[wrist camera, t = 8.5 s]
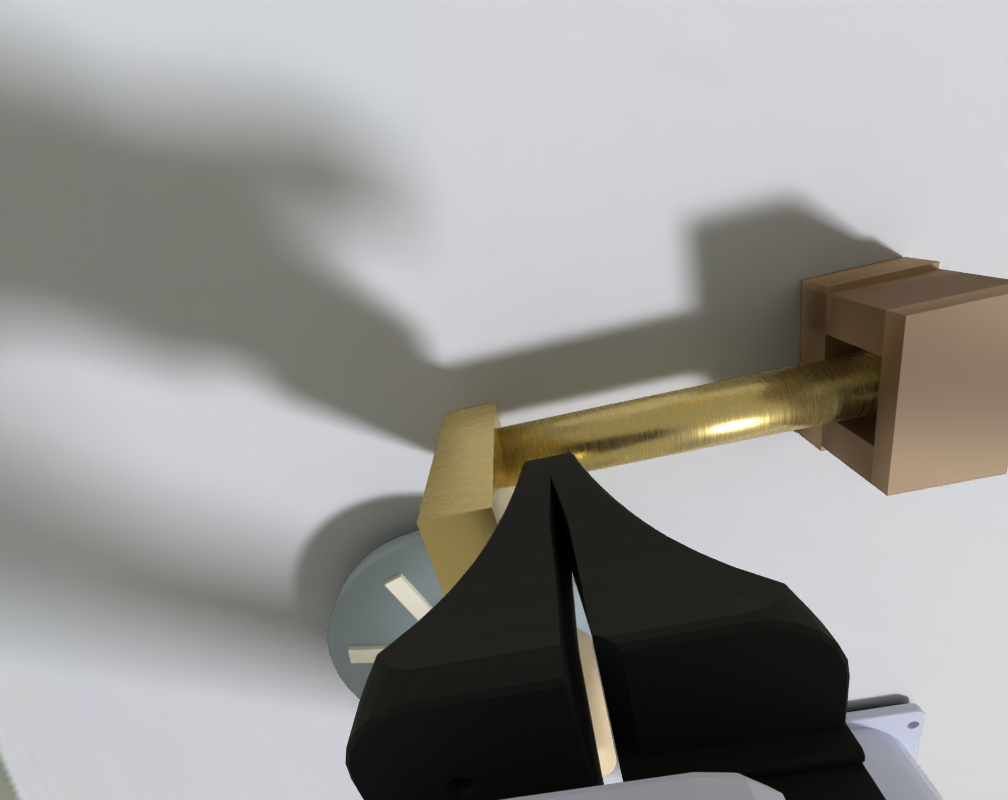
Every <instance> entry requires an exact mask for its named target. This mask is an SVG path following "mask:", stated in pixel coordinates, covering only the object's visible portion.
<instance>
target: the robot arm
mask: <svg viewBox="0 0 1008 800" xmlns="http://www.w3.org/2000/svg"><path fill="white" fill-rule="evenodd" d="M572 573H573V577H574V580H575V583H576V586H577V590H578V593H579V596H580V599H581V603H582V606H583V609H584V612H585V616H586V619H587V622H588V625H589V629H590V632H591V635H592V639H593V643H594V648H595V652H596V657H597V661H598V666H599V671H600V675H601V680H602V685H603V689H604V694H605V699H606V703H607V708H608V713H609V717H610V722H611V727H612V731H613V736H614V741H615V745H616V750H617V755H618V759H619V764H620V769H621V774H622V778H623V782H621V783H614V784H607V785H604V782H603V777H602V772H601V766H600V761H599V756H598V750H597V745H596V740H595V734H594V729H593V723H592V718H591V713H590V707H589V702H588V696H587V691H586V686H585V680H584V675H583V669H582V664H581V658H580V651H579V644H578V636H577V625H576V614H575V602H574V591H573V580H572ZM849 678H850V675H849V667H848V659H847V658H846V656H845V654H844V653H843V651H842V649H841V648H840V646H839V644H838V643H837V642H836V640H835V639H834V638H833V636H832V635H831V634H830V632H829V631H828V630H827V628H826V627H825V626H824V625H823V623H822V622H821V621H820V620H819V619H818V618H817V617H816V616H815V615H814V613H813V612H812V611H811V610H810V609H809V608H808V607H807V606H806V605H805V604H804V603H803V602H802V601H801V600H800V599H799V598H798V597H797V596H796V595H795V594H794V593H793V592H792V591H791V590H790V589H789V588H788V586H787V585H785V584H784V583H781V582H778V581H775V580H772V579H769V578H766V577H763V576H760V575H757V574H754V573H751V572H748V571H744V570H741V569H738V568H735V567H733V566H730V565H728V564H725V563H723V562H720V561H718V560H715V559H713V558H711V557H708V556H706V555H703V554H701V553H699V552H697V551H695V550H693V549H691V548H689V547H687V546H685V545H683V544H681V543H679V542H677V541H675V540H673V539H671V538H669V537H667V536H666V535H664V534H662V533H661V532H659V531H658V530H656V529H654V528H653V527H651V526H650V525H648V524H647V523H645V522H644V521H642V520H641V519H640V518H638V517H637V516H635V515H634V514H633V513H631V512H630V511H629V510H627V509H626V508H625V507H624V506H623V505H621V504H620V503H619V502H618V501H616V500H615V499H614V498H613V497H612V496H611V495H610V494H609V493H608V492H606V491H605V490H604V489H603V488H602V487H601V486H600V485H599V484H598V483H597V482H596V481H595V480H594V479H593V478H592V477H591V476H590V475H589V473H588V472H587V471H586V470H585V469H584V468H583V466H582V465H581V464H580V463H579V461H578V460H577V458H576V457H575V455H573V454H572V453H565V454H560V455H555V456H550V457H545V458H540V459H535V460H530V461H526V462H525V463H524V464H523V466H522V469H521V473H520V476H519V479H518V482H517V484H516V487H515V489H514V492H513V494H512V496H511V499H510V501H509V503H508V505H507V508H506V510H505V512H504V514H503V516H502V517H501V519H500V521H499V523H498V525H497V527H496V528H495V530H494V532H493V534H492V536H491V537H490V539H489V540H488V542H487V544H486V545H485V547H484V548H483V550H482V551H481V552H480V554H479V555H478V557H477V558H476V560H475V561H474V562H473V564H472V565H471V566H470V567H469V569H468V570H467V571H466V572H465V574H464V575H463V576H462V577H461V578H460V580H459V581H458V582H457V583H456V584H455V585H454V587H453V588H452V589H451V590H450V591H449V592H448V593H447V594H446V595H445V596H444V597H443V598H442V599H441V600H440V601H439V602H438V603H437V604H436V605H435V606H434V607H433V608H432V609H431V610H430V611H429V612H428V613H427V614H426V615H425V616H423V617H422V618H421V619H420V620H419V621H418V622H417V623H416V624H414V625H413V626H412V627H411V628H410V629H408V630H407V631H406V632H405V633H403V634H402V635H401V636H400V637H398V638H397V639H396V640H395V641H393V642H392V643H391V644H390V645H389V646H387V647H386V648H385V649H383V650H382V651H381V652H379V653H378V654H377V656H376V658H375V661H374V664H373V666H372V669H371V671H370V673H369V676H368V678H367V681H366V683H365V686H364V689H363V692H362V695H361V698H360V701H359V705H358V709H357V712H356V716H355V719H354V723H353V726H352V730H351V733H350V737H349V740H348V744H347V748H346V766H347V769H348V771H349V774H350V777H351V779H352V781H353V782H354V784H355V786H356V788H357V789H358V791H359V793H360V794H361V796H362V798H363V799H364V800H945V799H944V798H943V797H942V795H941V794H940V793H939V791H938V790H937V789H936V787H935V786H934V785H933V783H932V782H931V781H930V779H929V778H928V777H927V775H926V774H925V773H924V771H923V770H922V769H921V767H920V766H919V765H918V763H917V762H916V761H917V756H918V750H919V745H920V739H921V734H922V728H923V723H924V717H925V713H924V712H923V710H922V709H921V708H920V707H919V706H918V705H917V704H914V703H906V704H899V705H893V706H886V707H880V708H873V709H866V710H860V711H853V712H847V701H848V689H849Z"/></svg>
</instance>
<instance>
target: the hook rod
mask: <svg viewBox="0 0 1008 800" xmlns="http://www.w3.org/2000/svg"><path fill="white" fill-rule="evenodd" d="M881 364H882V357H881V356H878V355H876V354H873V353H871V352H869V351H866V350H865V351H860V352H855V353H851V354H846V355H841V356H836V357H832V358H827V359H822V360H817V361H813V362H808V363H803V364H799V365H794V366H789V367H784V368H780V369H775V370H770V371H765V372H761V373H756V374H751V375H747V376H742V377H737V378H732V379H728V380H723V381H718V382H713V383H709V384H704V385H699V386H695V387H690V388H685V389H680V390H676V391H671V392H666V393H661V394H657V395H652V396H647V397H643V398H638V399H633V400H628V401H624V402H619V403H614V404H609V405H605V406H600V407H595V408H591V409H586V410H581V411H576V412H572V413H567V414H562V415H557V416H553V417H548V418H543V419H539V420H534V421H529V422H524V423H520V424H515V425H510V426H505V427H501V423H500V419H499V415H498V412H497V408H496V404H495V402H494V403H490V404H485V405H480V406H476V407H471V408H466V409H462V410H457V411H453V412H448V413H445V416H444V420H443V423H442V427H441V431H440V435H439V439H438V442H437V446H436V450H435V454H434V457H433V461H432V465H431V469H430V473H429V476H428V480H427V484H426V488H425V492H424V495H423V499H422V503H421V507H420V511H419V514H418V518H417V525H418V528H419V530H420V533H421V536H422V539H423V541H424V544H425V547H426V549H427V552H428V555H429V557H430V560H431V563H432V565H433V568H434V571H435V573H436V576H437V579H438V581H439V584H440V587H441V589H442V592H443V595H444V596H445V595H446V594H447V593H448V592H449V591H450V590H451V589H452V588H453V587H454V585H455V584H456V583H457V582H458V581H459V580H460V578H461V577H462V576H463V575H464V574H465V572H466V571H467V570H468V569H469V567H470V566H471V565H472V564H473V562H474V561H475V560H476V558H477V557H478V555H479V554H480V552H481V551H482V550H483V548H484V547H485V545H486V544H487V542H488V540H489V539H490V537H491V536H492V534H493V532H494V530H495V528H496V527H497V525H498V523H499V521H500V519H501V517H502V516H503V514H504V512H505V510H506V508H507V505H508V503H509V501H510V499H511V496H512V494H513V492H514V489H515V486H516V484H517V482H518V479H519V476H520V473H521V469H522V466H523V464H524V463H525V462H526V461H530V460H535V459H540V458H545V457H550V456H555V455H560V454H565V453H572V454H573V455H575V457H576V458H577V460H578V461H579V463H580V464H581V465H582V466H583V468H584V469H585V470H586V471H587V472H588V471H593V470H598V469H603V468H608V467H613V466H618V465H623V464H628V463H633V462H638V461H643V460H648V459H653V458H658V457H663V456H668V455H673V454H678V453H683V452H688V451H693V450H698V449H703V448H708V447H713V446H718V445H723V444H728V443H733V442H738V441H743V440H748V439H753V438H758V437H763V436H768V435H773V434H778V433H783V432H788V431H793V430H798V429H803V428H808V427H813V426H818V425H823V424H828V423H833V422H838V421H843V420H848V419H853V418H858V417H863V416H868V415H873V414H877V409H878V398H879V386H880V375H881Z"/></svg>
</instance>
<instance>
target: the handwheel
mask: <svg viewBox="0 0 1008 800" xmlns="http://www.w3.org/2000/svg"><path fill="white" fill-rule="evenodd" d="M572 580H573V591H574V602H575V614H576V625H577V636H578V644H579V651H580V658H581V664H582V669H583V675H584V680H585V686H586V691H587V696H588V702H589V707H590V713H591V718H592V723H593V729H594V734H595V740H596V745H597V750H598V756H599V761H600V766H601V772H602V777H605V776H607V775H608V774H610V773H611V772H612V771H613V769H614V768H615V766H616V762H617V759H616V754H615V749H614V744H613V740H612V735H611V730H610V725H609V720H608V716H607V711H606V706H605V701H604V696H603V692H602V687H601V682H600V677H599V672H598V668H597V663H596V658H595V653H594V648H593V644H592V635H591V632H590V629H589V625H588V622H587V619H586V616H585V612H584V609H583V606H582V603H581V599H580V596H579V593H578V590H577V586H576V583H575V580H574V577H573V576H572ZM443 597H444V595H443V592H442V589H441V587H440V584H439V581H438V579H437V576H436V573H435V571H434V568H433V565H432V563H431V560H430V557H429V555H428V552H427V549H426V547H425V544H424V541H423V539H422V536H421V533H420V530H418V531H415V532H412V533H409V534H405V535H402V536H400V537H398V538H395V539H393V540H391V541H389V542H387V543H385V544H383V545H382V546H380V547H379V548H377V549H375V550H374V551H372V552H371V553H370V554H369V555H367V556H366V557H365V558H364V559H363V560H362V561H360V563H359V564H358V565H357V566H356V567H355V568H354V569H353V571H352V572H351V573H350V575H349V576H348V578H347V580H346V581H345V583H344V585H343V588H342V590H341V592H340V595H339V597H338V600H337V602H336V605H335V607H334V609H333V612H332V614H331V617H330V622H329V627H328V646H329V652H330V656H331V659H332V662H333V664H334V667H335V669H336V670H337V672H338V674H339V676H340V678H341V679H342V680H343V682H344V683H345V684H346V686H347V687H348V688H349V689H350V690H351V691H352V692H353V693H354V694H355V695H356V696H357V697H358V698H359V699H360V698H361V695H362V692H363V689H364V686H365V683H366V681H367V678H368V676H369V673H370V671H371V669H372V666H373V664H374V661H375V658H376V656H377V654H378V653H379V652H381V651H382V650H383V649H385V648H386V647H387V646H389V645H390V644H391V643H392V642H393V641H395V640H396V639H397V638H398V637H400V636H401V635H402V634H403V633H405V632H406V631H407V630H408V629H410V628H411V627H412V626H413V625H414V624H416V623H417V622H418V621H419V620H420V619H421V618H422V617H423V616H425V615H426V614H427V613H428V612H429V611H430V610H431V609H432V608H433V607H434V606H435V605H436V604H437V603H438V602H439V601H440V600H441V599H442V598H443Z"/></svg>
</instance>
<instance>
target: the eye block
mask: <svg viewBox="0 0 1008 800" xmlns="http://www.w3.org/2000/svg"><path fill="white" fill-rule="evenodd" d="M865 350H866V351H869V352H871V353H873V354H876V355H878V356H881V357H882V364H881V375H880V386H879V398H878V409H877V414H873V415H868V416H863V417H858V418H853V419H848V420H843V421H838V422H833V423H828V424H823V425H818V426H813V427H808V428H803V429H799V434H800V435H801V436H802V437H804V438H805V439H806V440H807V441H809V442H810V443H811V444H813V445H814V446H815V447H817V448H818V449H819V450H820V451H824V450H828V451H829V452H830V453H832V454H833V455H834V456H835V457H837V458H838V459H839V460H841V461H842V462H843V463H845V464H846V465H847V466H849V467H850V468H851V469H853V470H854V471H855V472H857V473H858V474H859V475H861V476H862V477H863V478H864V479H866V480H867V481H868V482H870V483H871V484H872V485H874V486H875V487H876V488H878V489H879V490H880V491H882V492H883V493H884V494H886V495H887V496H889V495H894V494H900V493H905V492H910V491H916V490H921V489H926V488H932V487H937V486H943V485H948V484H953V483H959V482H964V481H969V480H975V479H980V478H986V477H991V476H996V475H1002V474H1006V472H1007V467H1008V279H1002V278H995V277H989V276H982V275H975V274H969V273H962V272H956V271H949V270H942V269H939V262H938V261H931V260H924V259H916V258H909V257H902V258H898V259H894V260H889V261H885V262H880V263H876V264H871V265H867V266H863V267H858V268H854V269H849V270H845V271H840V272H836V273H832V274H827V275H823V276H818V277H814V278H809V279H805V280H802V304H801V364H803V363H808V362H813V361H817V360H822V359H827V358H832V357H836V356H841V355H846V354H851V353H855V352H860V351H865Z"/></svg>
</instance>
